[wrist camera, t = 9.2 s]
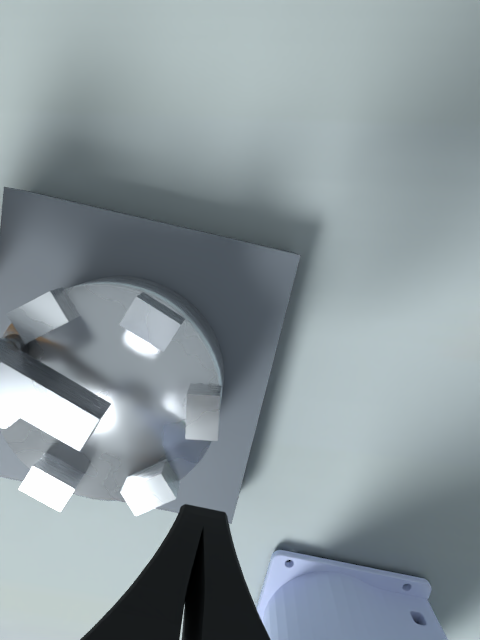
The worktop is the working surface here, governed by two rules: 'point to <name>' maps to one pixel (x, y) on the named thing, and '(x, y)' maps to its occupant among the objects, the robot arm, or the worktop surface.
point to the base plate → (182, 277)
